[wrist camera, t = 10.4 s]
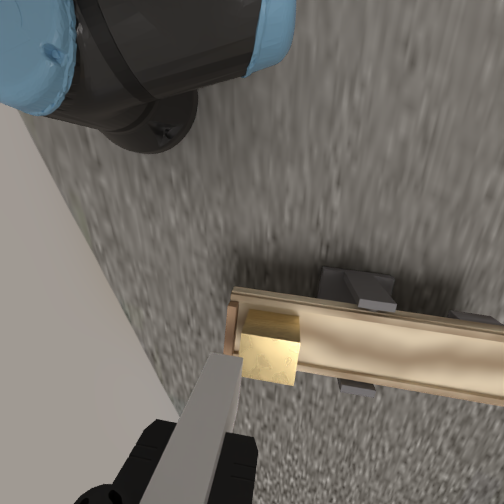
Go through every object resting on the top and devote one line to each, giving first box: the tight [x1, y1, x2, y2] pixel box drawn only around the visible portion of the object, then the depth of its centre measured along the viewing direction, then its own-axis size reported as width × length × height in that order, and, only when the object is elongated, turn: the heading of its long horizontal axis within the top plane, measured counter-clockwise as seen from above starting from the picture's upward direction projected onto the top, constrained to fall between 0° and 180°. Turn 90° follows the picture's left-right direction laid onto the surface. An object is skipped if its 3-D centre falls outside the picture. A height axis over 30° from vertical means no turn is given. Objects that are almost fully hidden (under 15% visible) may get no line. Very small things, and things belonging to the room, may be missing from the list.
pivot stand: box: [317, 266, 397, 398], centre depth 40 cm, size 12×10×12 cm
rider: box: [239, 309, 300, 386], centre depth 34 cm, size 5×6×6 cm
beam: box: [223, 286, 504, 407], centre depth 37 cm, size 10×33×8 cm, turn 84°
